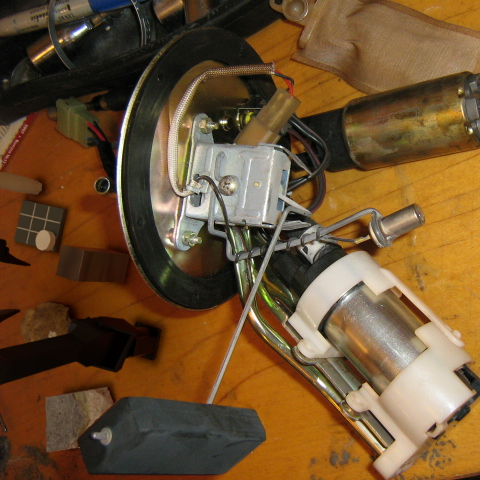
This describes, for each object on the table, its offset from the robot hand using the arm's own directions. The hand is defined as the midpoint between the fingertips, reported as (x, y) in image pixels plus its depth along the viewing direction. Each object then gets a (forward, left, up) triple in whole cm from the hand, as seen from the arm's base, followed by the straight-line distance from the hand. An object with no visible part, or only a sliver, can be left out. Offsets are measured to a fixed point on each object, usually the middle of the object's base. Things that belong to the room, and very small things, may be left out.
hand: (24, 287), depth 91 cm
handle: (+19, -20, -12) cm, 30 cm away
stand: (-10, -7, -12) cm, 17 cm away
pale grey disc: (+10, -9, -11) cm, 17 cm away
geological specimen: (-12, +25, -12) cm, 30 cm away
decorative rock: (+4, +10, -12) cm, 16 cm away
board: (+15, -12, -12) cm, 22 cm away
